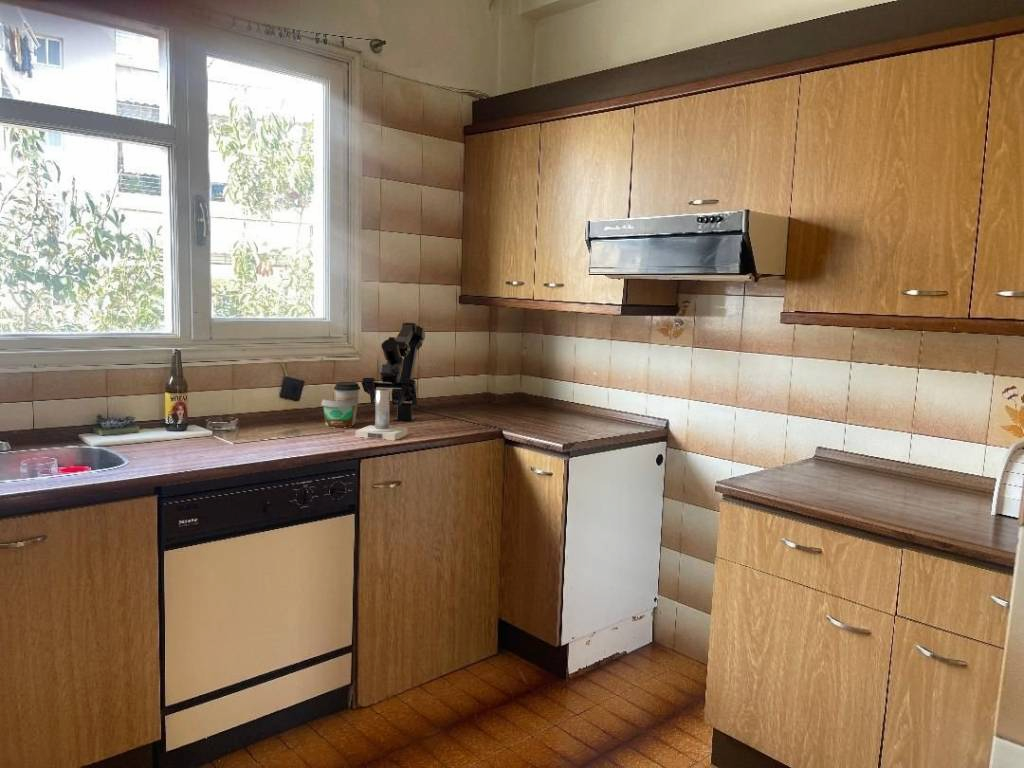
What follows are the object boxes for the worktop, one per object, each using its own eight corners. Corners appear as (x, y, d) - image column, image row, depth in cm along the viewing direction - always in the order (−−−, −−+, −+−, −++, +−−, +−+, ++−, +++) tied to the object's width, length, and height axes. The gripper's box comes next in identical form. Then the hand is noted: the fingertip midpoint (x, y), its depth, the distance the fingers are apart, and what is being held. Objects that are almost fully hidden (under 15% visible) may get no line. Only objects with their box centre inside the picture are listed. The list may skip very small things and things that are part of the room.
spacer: (382, 426, 257) (383, 388, 255) (392, 428, 254) (392, 390, 252) (371, 427, 253) (372, 389, 252) (381, 429, 250) (381, 391, 249)
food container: (321, 429, 262) (321, 401, 261) (321, 426, 268) (321, 398, 266) (357, 429, 265) (357, 401, 264) (356, 425, 271) (356, 398, 270)
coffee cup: (329, 425, 271) (329, 384, 269) (341, 421, 280) (341, 381, 278) (353, 426, 269) (353, 385, 267) (364, 422, 278) (364, 382, 276)
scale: (369, 431, 261) (369, 423, 260) (407, 434, 257) (407, 426, 257) (355, 437, 250) (355, 429, 249) (393, 440, 246) (394, 432, 246)
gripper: (362, 354, 260) (353, 390, 251) (415, 356, 258) (408, 392, 249) (369, 373, 269) (360, 409, 260) (420, 375, 267) (413, 411, 258)
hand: (385, 405), depth 256 cm, fingers open, 9 cm apart
